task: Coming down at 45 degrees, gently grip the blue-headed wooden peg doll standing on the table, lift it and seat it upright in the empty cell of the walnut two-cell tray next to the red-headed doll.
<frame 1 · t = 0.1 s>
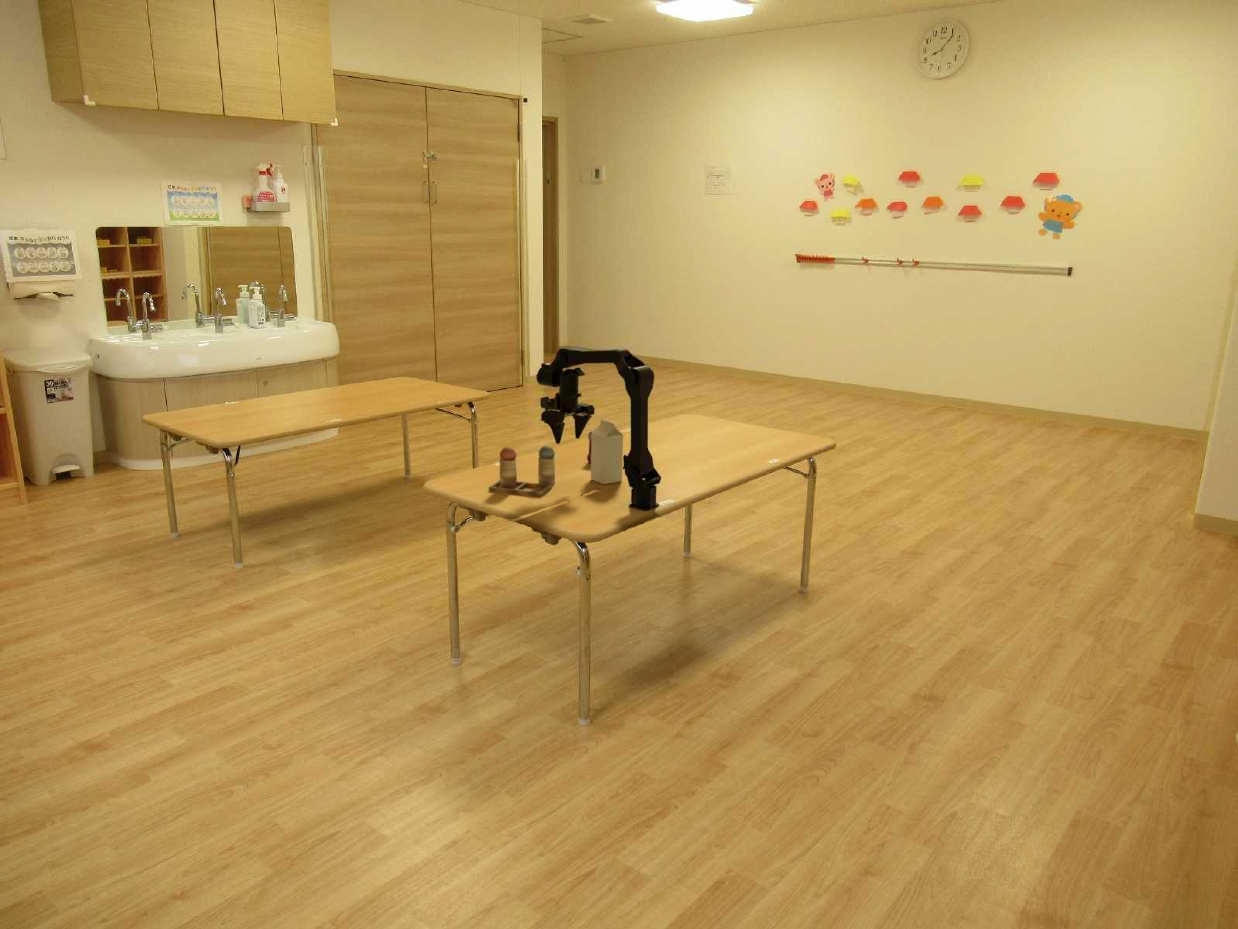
hand: (567, 441, 270), 15 cm above the table, tool pointing down, fingers open, 9 cm apart
milk carton: (606, 481, 282), on the table
toy fire truck: (603, 464, 302), on the table
red peg doll: (508, 488, 268), point 1 cm above the table, touching doll tray
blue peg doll: (546, 486, 274), on the table
doll tray: (520, 492, 267), on the table
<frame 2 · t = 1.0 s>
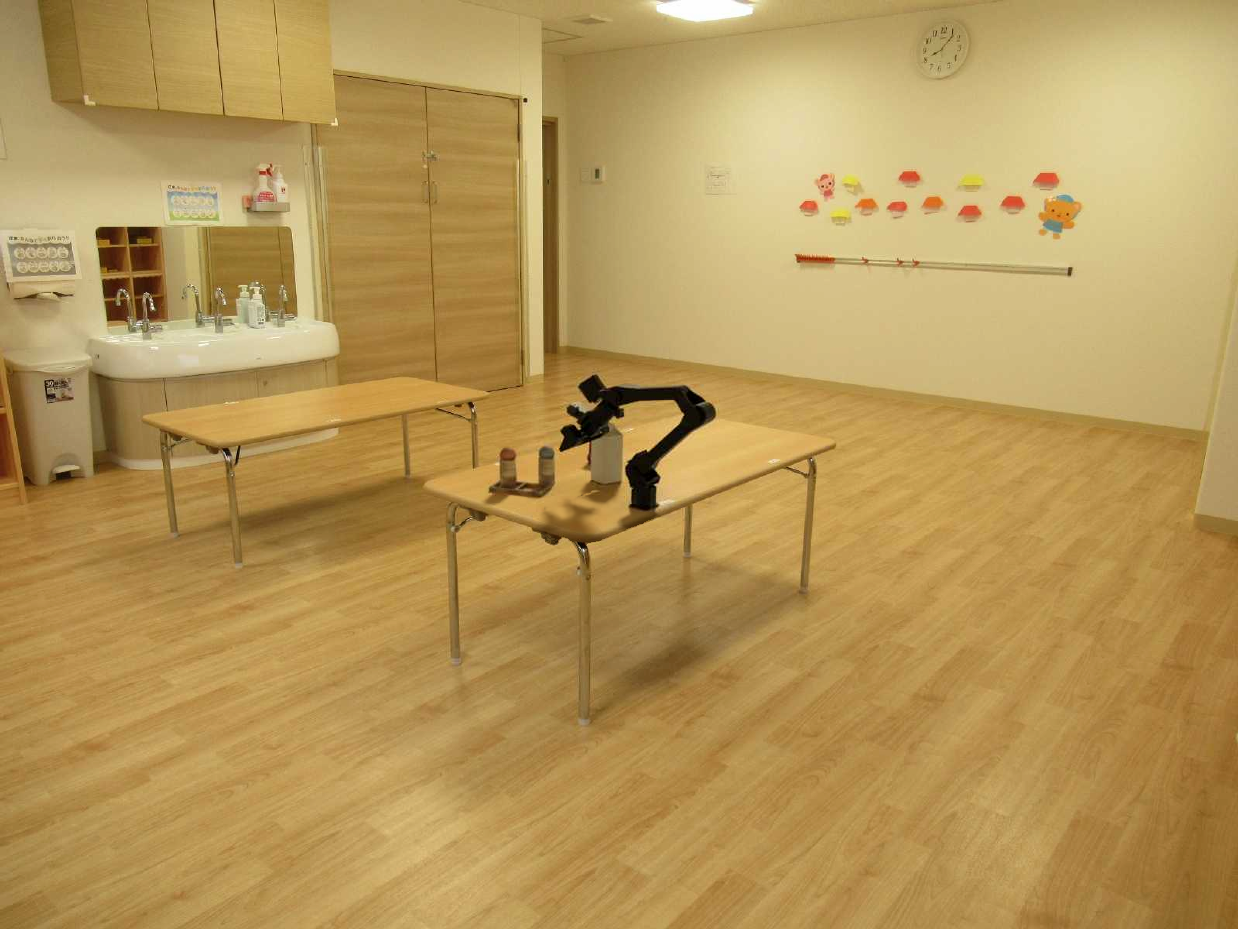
hand: (568, 447, 267), 13 cm above the table, tool tilted 45°, fingers open, 9 cm apart
nothing on the table moved.
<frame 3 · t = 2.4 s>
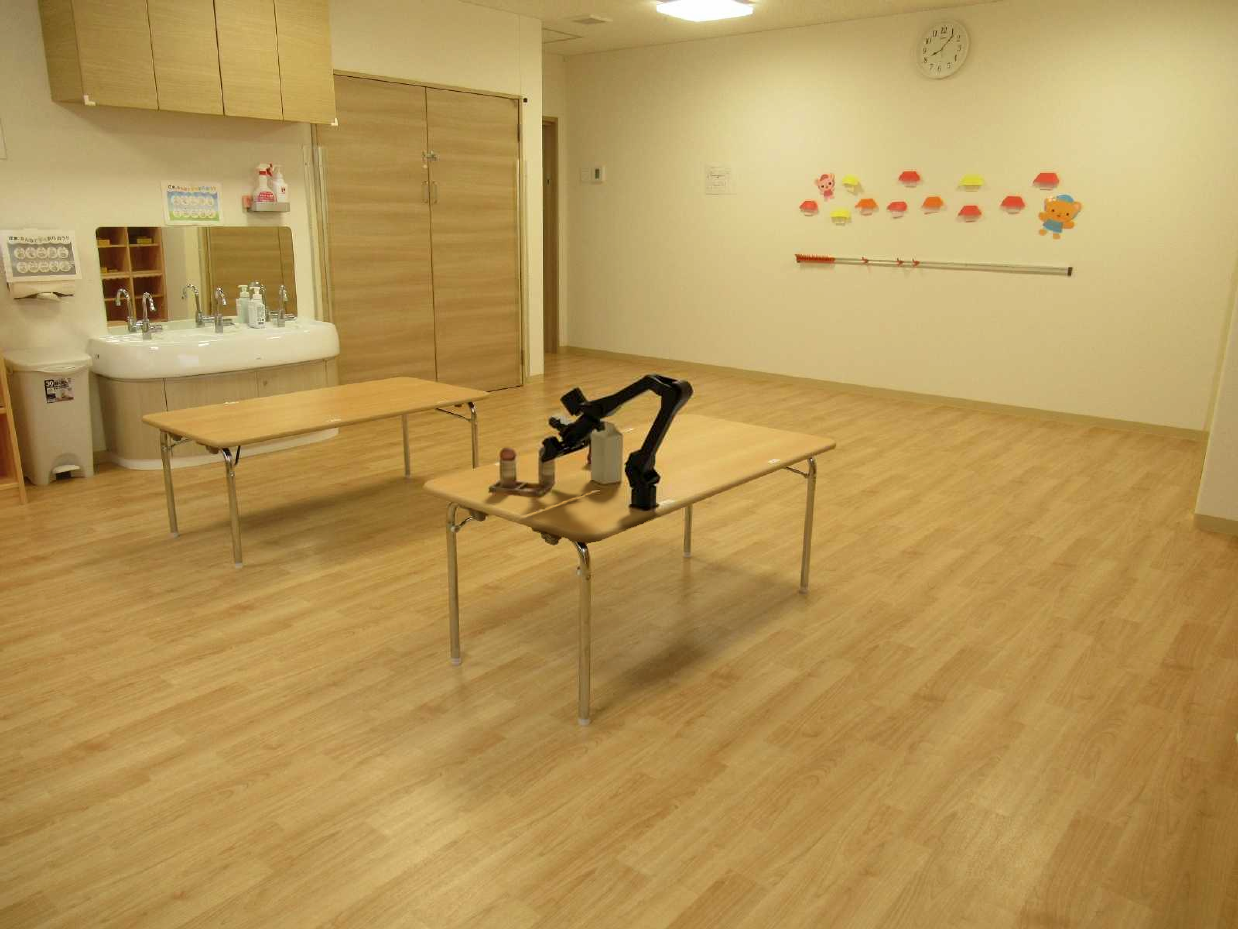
hand: (550, 458, 271), 9 cm above the table, tool tilted 45°, fingers open, 9 cm apart
nothing on the table moved.
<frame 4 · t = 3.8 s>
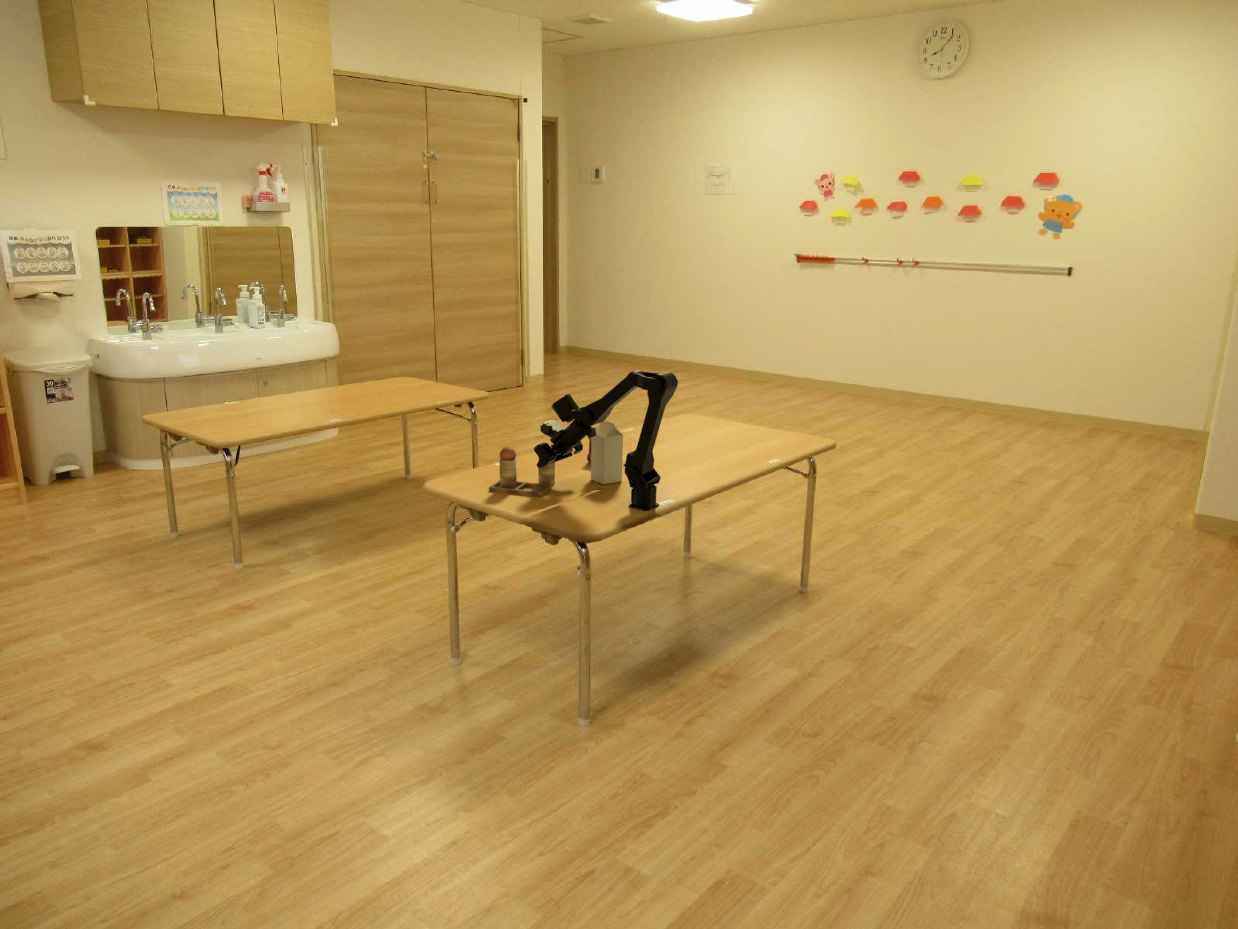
hand: (542, 464, 273), 7 cm above the table, tool tilted 45°, fingers closed on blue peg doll, 5 cm apart
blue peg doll: (546, 486, 274), on the table, touching gripper
everything else where it was.
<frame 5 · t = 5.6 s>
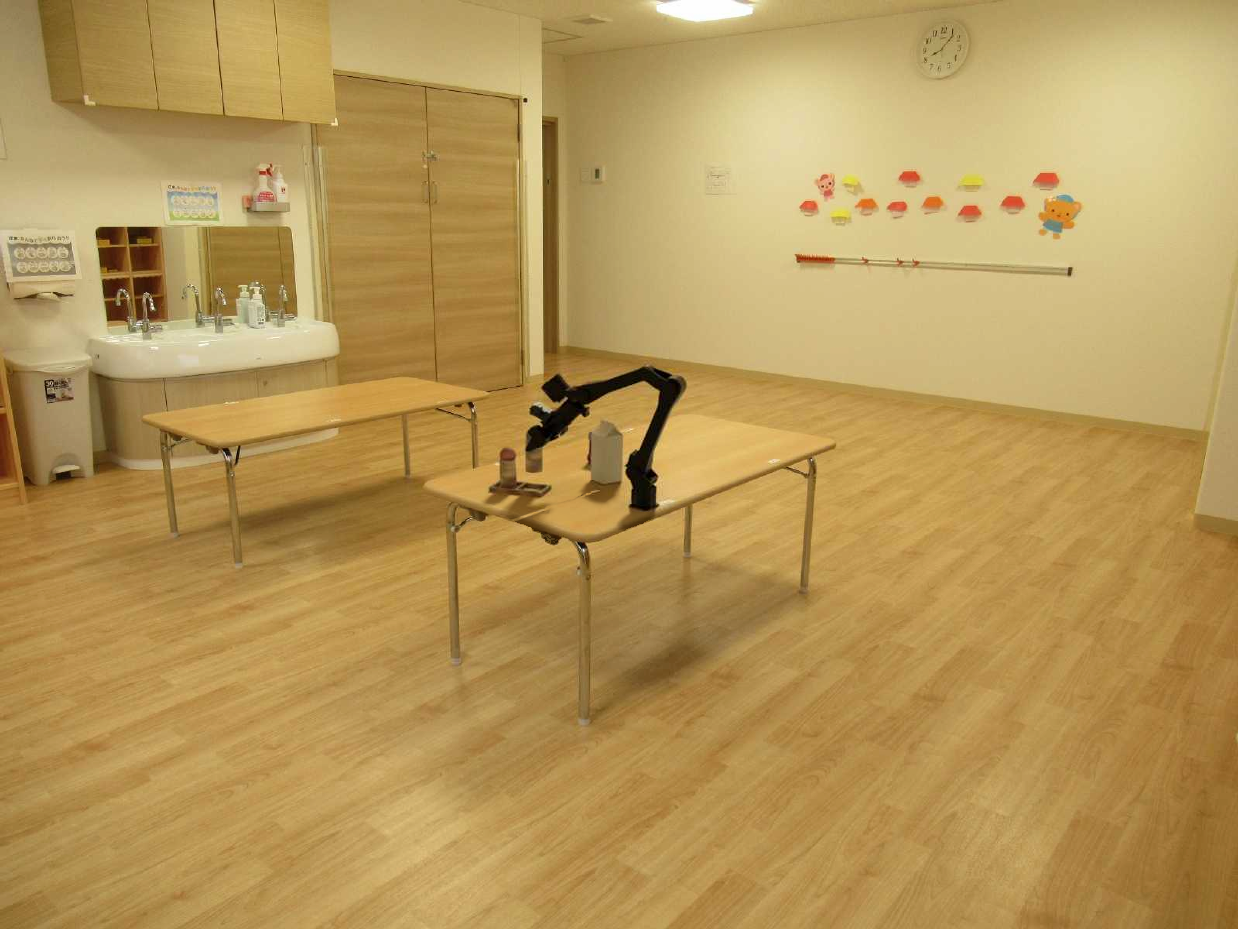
hand: (529, 448, 264), 13 cm above the table, tool tilted 45°, fingers closed on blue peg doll, 5 cm apart
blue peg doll: (534, 470, 265), point 7 cm above the table, touching gripper
everything else where it was.
when the fingers open (8 cm above the table, at t = 7.2 s): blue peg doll drops 1 cm, resting on doll tray.
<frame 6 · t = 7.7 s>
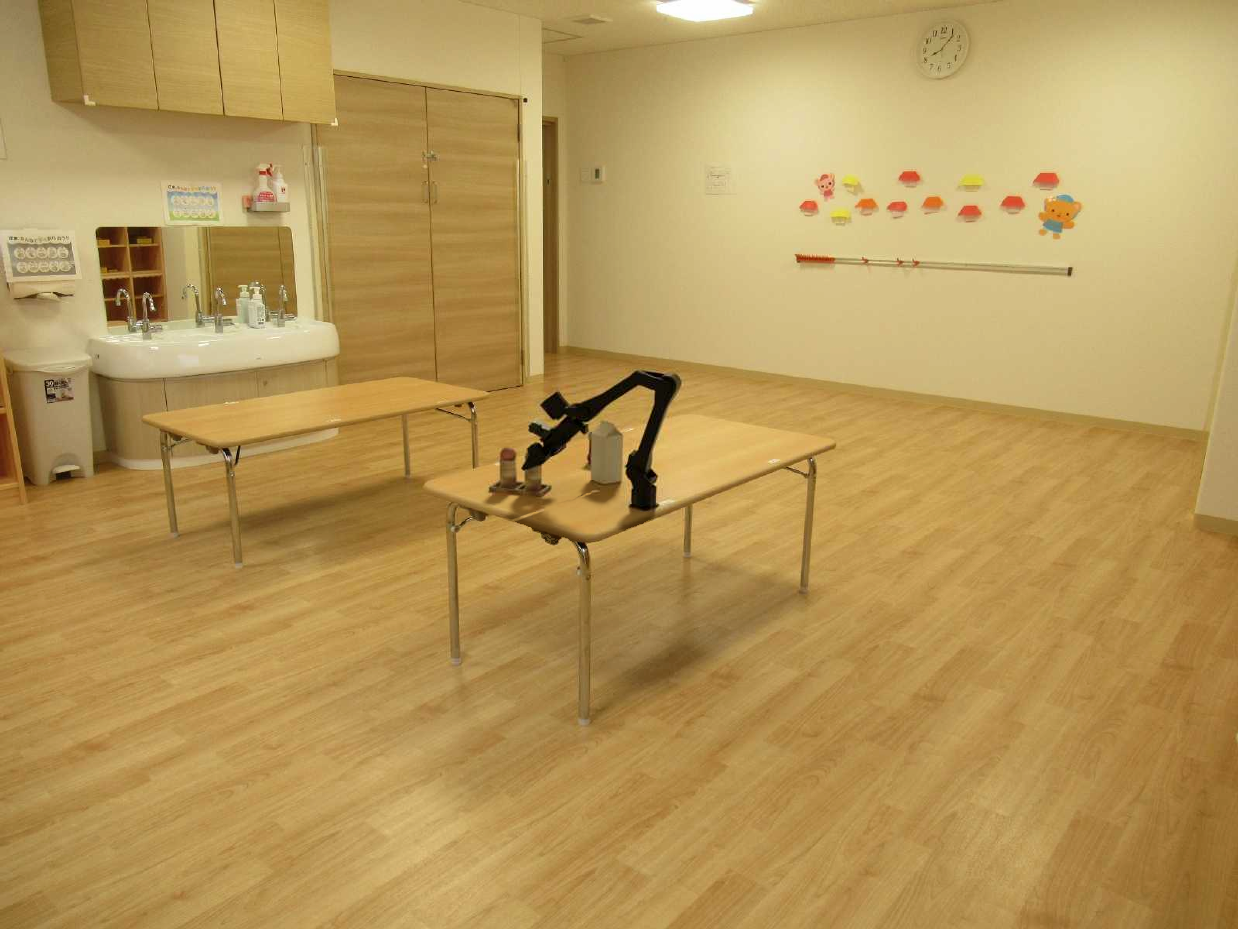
hand: (528, 465, 264), 9 cm above the table, tool tilted 45°, fingers open, 9 cm apart
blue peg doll: (533, 491, 266), point 1 cm above the table, touching doll tray
everything else where it was.
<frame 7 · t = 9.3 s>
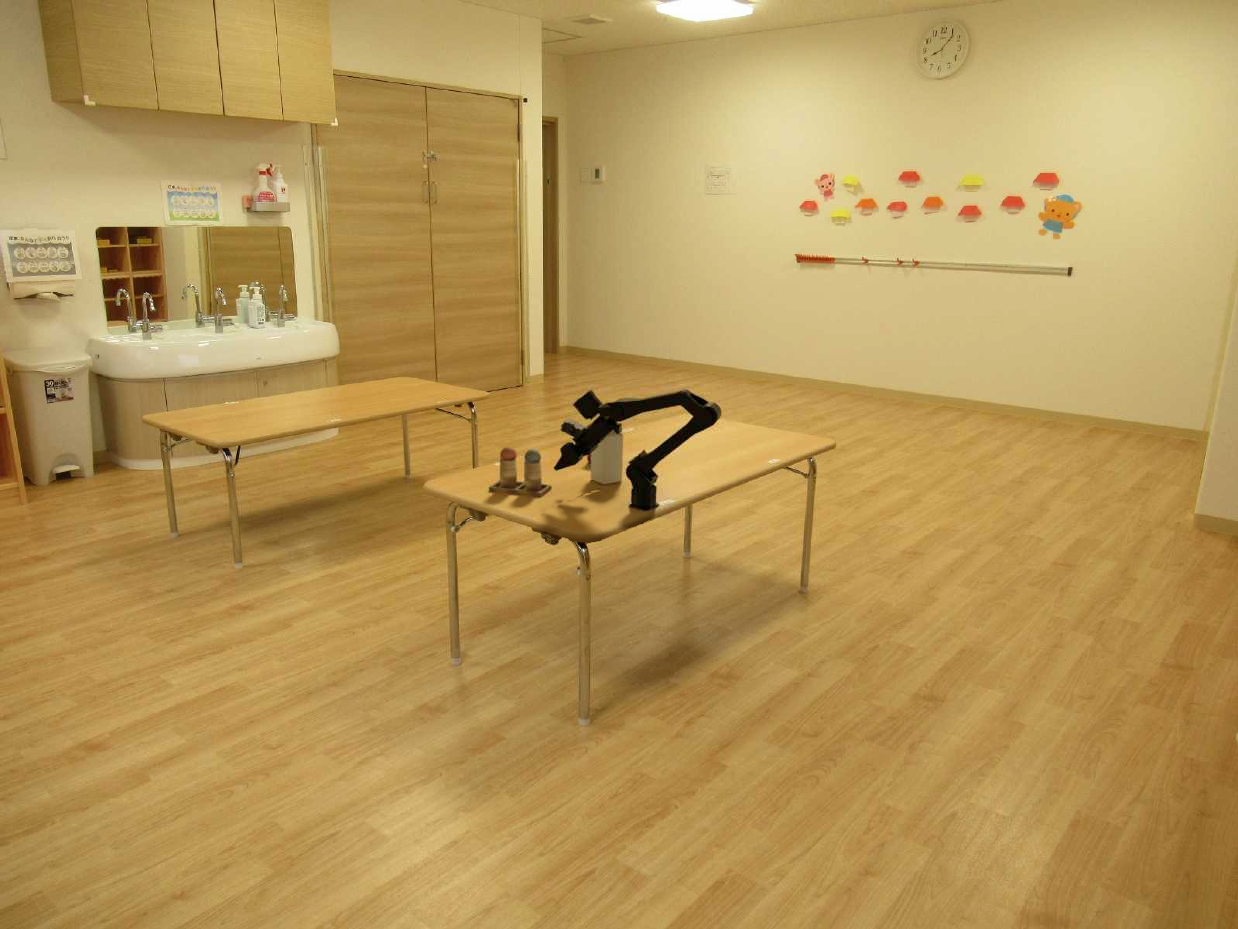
hand: (560, 465, 262), 10 cm above the table, tool tilted 45°, fingers open, 9 cm apart
nothing on the table moved.
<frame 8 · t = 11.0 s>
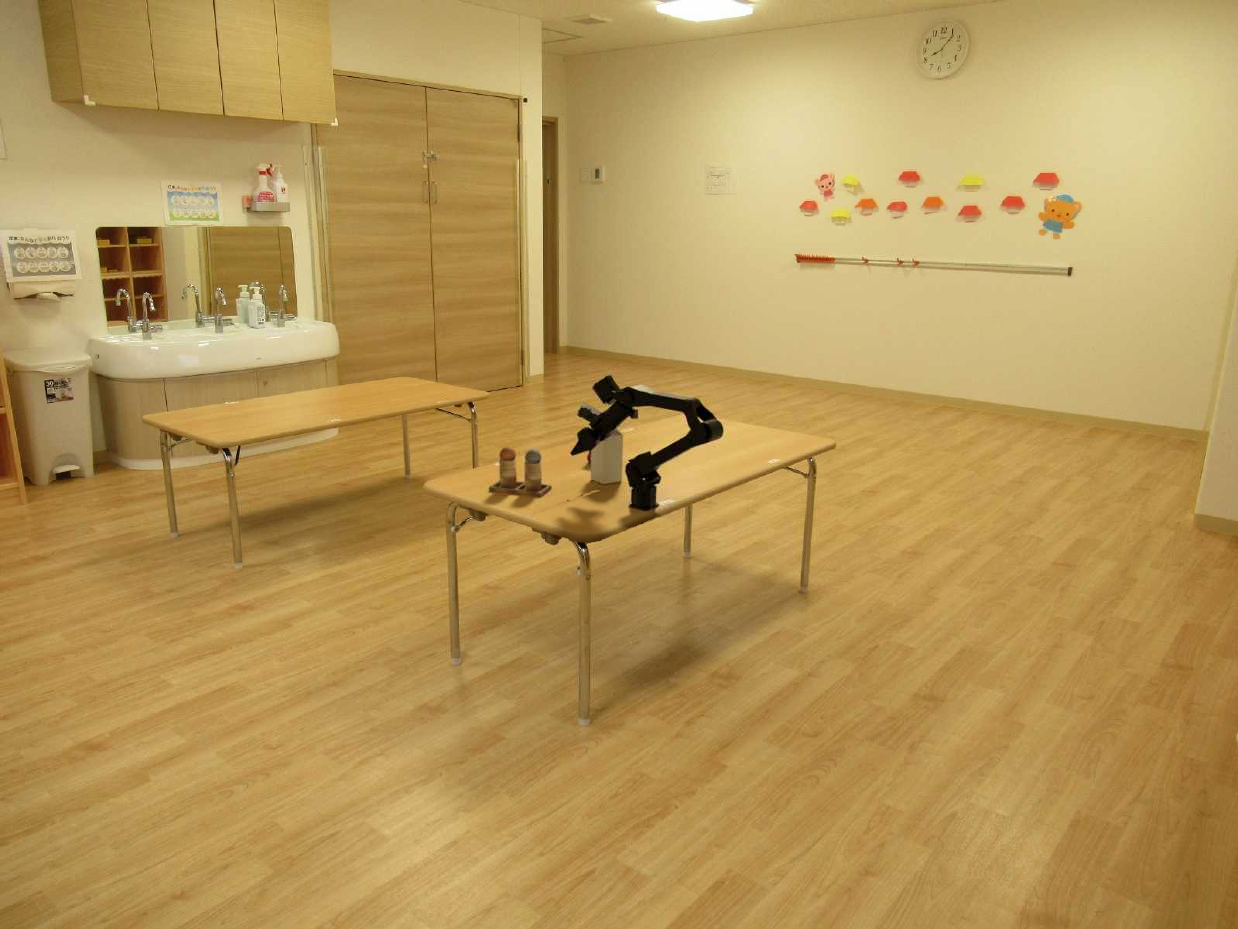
hand: (576, 450, 262), 14 cm above the table, tool tilted 45°, fingers open, 9 cm apart
nothing on the table moved.
at the end: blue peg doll 0.1 cm from the target spot, point 0.8 cm above the table; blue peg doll tilted 1°; red peg doll moved 0.0 cm from its start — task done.
